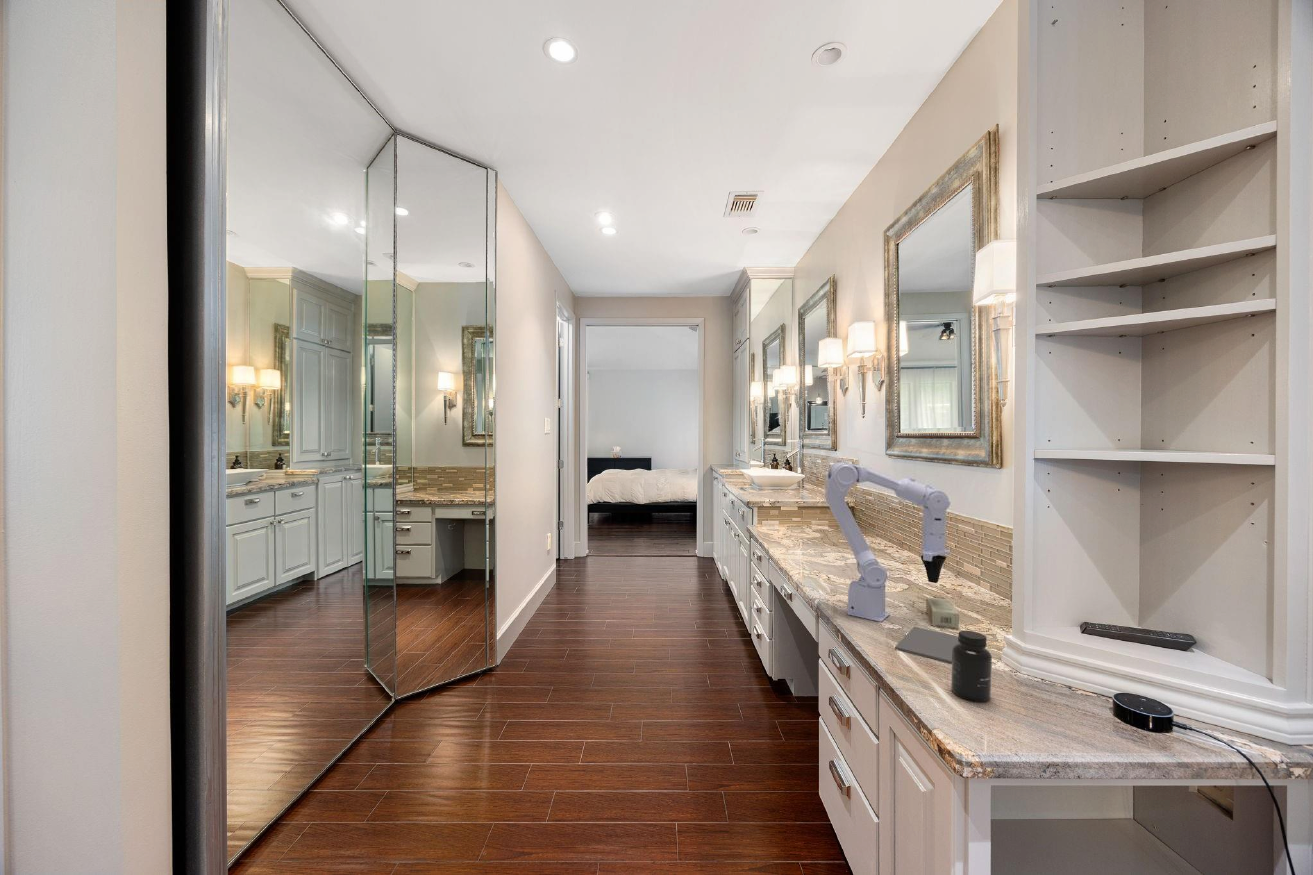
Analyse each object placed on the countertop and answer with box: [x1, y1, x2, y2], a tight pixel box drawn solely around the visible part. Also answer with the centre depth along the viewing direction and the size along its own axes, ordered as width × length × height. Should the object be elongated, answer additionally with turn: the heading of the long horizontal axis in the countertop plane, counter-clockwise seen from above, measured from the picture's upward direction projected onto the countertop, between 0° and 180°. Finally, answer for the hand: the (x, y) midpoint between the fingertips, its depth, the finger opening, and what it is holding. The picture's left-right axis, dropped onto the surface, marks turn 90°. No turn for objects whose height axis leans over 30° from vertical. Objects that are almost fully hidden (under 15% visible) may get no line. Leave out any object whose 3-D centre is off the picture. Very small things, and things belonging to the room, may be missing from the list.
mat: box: [894, 626, 959, 665], centre depth 131 cm, size 14×17×1 cm
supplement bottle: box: [950, 630, 993, 703], centre depth 108 cm, size 7×7×12 cm
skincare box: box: [925, 596, 960, 630], centre depth 149 cm, size 6×4×12 cm
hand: (933, 582), depth 149 cm, fingers closed
